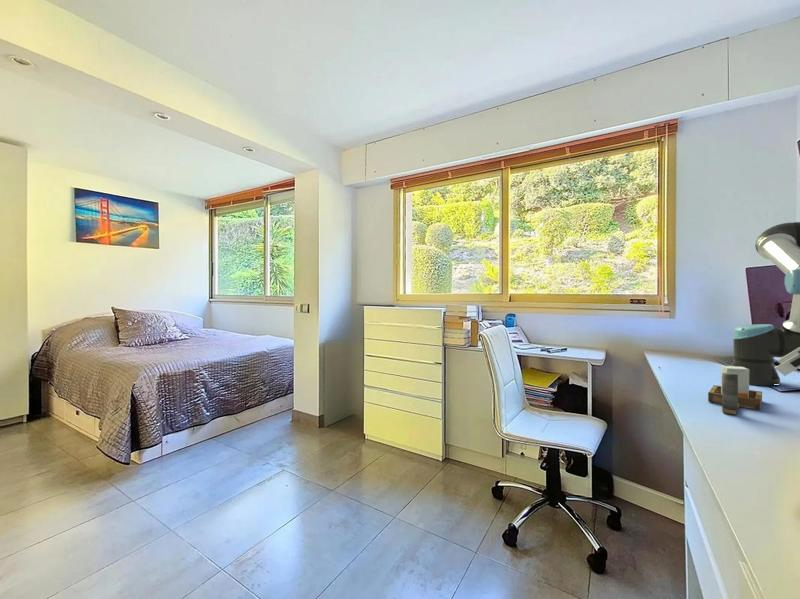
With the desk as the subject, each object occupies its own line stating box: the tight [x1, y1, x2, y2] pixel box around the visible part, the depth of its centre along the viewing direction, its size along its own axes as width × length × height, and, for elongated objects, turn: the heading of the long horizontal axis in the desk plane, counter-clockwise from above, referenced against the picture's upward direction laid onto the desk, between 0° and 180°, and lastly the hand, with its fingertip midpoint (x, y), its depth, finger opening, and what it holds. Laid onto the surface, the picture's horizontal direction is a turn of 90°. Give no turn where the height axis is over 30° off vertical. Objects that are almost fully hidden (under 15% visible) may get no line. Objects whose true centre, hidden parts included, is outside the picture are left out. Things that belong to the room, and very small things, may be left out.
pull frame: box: [707, 373, 763, 416], centre depth 117 cm, size 24×12×12 cm, turn 132°
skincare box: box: [720, 365, 750, 398], centre depth 120 cm, size 6×4×12 cm
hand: (780, 367), depth 102 cm, fingers open, 13 cm apart
